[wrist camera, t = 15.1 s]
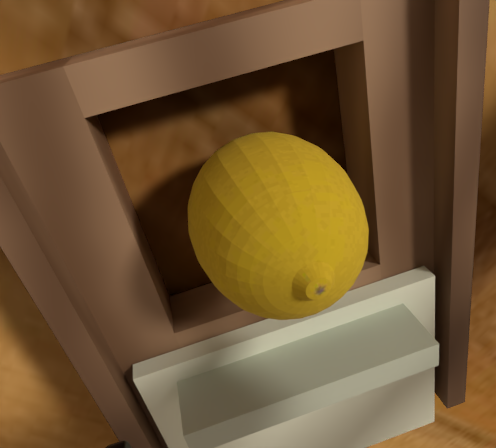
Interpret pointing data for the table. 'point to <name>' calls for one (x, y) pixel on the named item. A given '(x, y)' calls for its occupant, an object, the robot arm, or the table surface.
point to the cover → (305, 375)
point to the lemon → (277, 225)
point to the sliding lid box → (208, 71)
